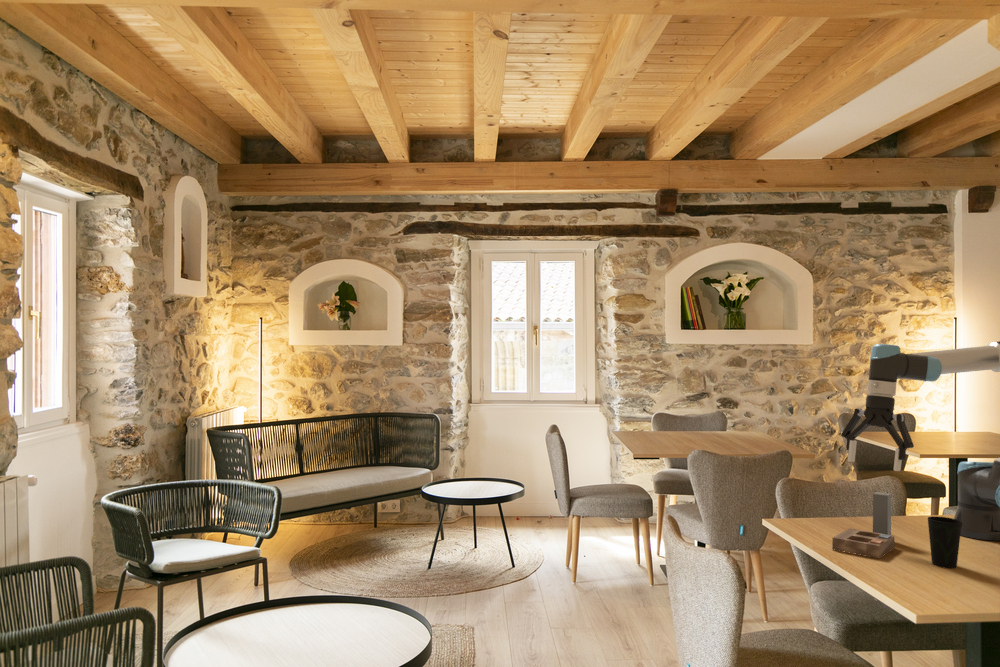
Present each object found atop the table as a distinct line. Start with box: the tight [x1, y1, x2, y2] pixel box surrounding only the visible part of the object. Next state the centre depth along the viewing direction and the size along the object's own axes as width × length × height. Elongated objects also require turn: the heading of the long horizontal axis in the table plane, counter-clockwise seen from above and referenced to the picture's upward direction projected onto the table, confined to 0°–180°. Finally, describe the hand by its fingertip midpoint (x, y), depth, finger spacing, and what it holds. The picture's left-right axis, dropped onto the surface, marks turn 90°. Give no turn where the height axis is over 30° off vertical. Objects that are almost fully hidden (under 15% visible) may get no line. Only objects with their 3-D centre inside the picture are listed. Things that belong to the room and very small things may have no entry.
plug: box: [872, 491, 892, 535], centre depth 211 cm, size 4×4×14 cm
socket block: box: [831, 527, 895, 559], centre depth 201 cm, size 12×16×4 cm
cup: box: [927, 516, 962, 569], centre depth 187 cm, size 8×8×12 cm
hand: (873, 466), depth 210 cm, fingers open, 13 cm apart
